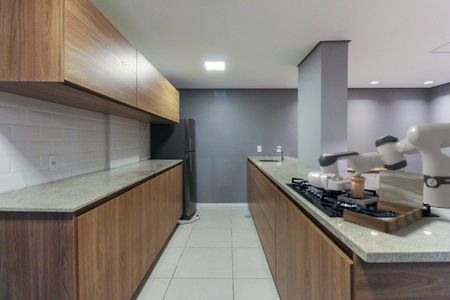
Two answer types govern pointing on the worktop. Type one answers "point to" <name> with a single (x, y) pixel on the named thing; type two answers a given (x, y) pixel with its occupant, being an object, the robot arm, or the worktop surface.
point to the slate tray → (361, 201)
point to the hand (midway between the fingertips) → (359, 186)
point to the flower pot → (357, 185)
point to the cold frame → (394, 201)
